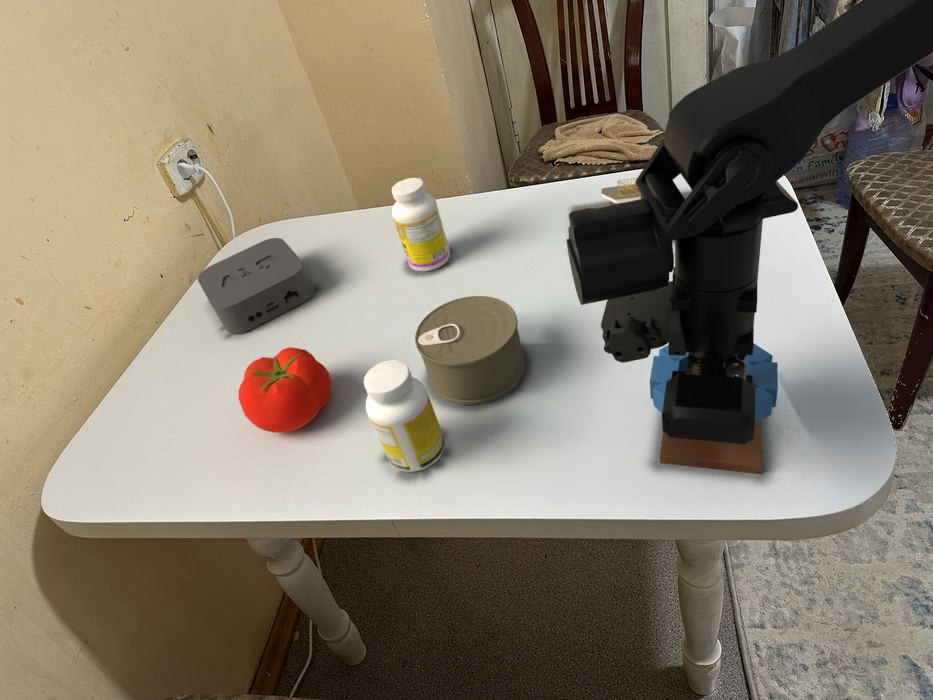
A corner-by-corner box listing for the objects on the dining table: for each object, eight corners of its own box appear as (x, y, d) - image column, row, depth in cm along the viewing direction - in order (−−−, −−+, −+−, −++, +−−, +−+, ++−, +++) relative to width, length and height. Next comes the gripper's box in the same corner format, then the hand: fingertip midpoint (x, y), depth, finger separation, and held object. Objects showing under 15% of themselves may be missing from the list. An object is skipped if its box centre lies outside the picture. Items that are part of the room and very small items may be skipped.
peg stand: (760, 403, 67) (767, 343, 62) (760, 474, 61) (767, 414, 56) (668, 396, 70) (667, 339, 65) (660, 463, 64) (657, 405, 59)
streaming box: (290, 260, 111) (278, 233, 107) (320, 295, 100) (308, 267, 97) (209, 299, 107) (194, 273, 103) (232, 341, 96) (216, 313, 93)
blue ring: (774, 354, 63) (776, 335, 62) (776, 439, 56) (778, 420, 55) (658, 348, 67) (657, 330, 66) (645, 427, 60) (644, 409, 59)
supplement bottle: (412, 251, 104) (389, 177, 96) (453, 245, 103) (433, 170, 95) (405, 276, 99) (380, 200, 91) (448, 270, 98) (426, 193, 90)
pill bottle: (453, 431, 73) (427, 354, 66) (435, 477, 69) (405, 401, 62) (400, 426, 76) (369, 352, 68) (380, 471, 71) (344, 397, 64)
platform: (709, 236, 90) (710, 193, 86) (577, 250, 94) (571, 210, 90) (697, 192, 99) (698, 152, 95) (576, 208, 103) (572, 169, 99)
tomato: (247, 451, 78) (218, 408, 73) (266, 387, 86) (242, 344, 82) (332, 436, 77) (309, 391, 72) (344, 373, 85) (323, 329, 80)
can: (536, 391, 75) (527, 346, 71) (434, 417, 76) (419, 374, 71) (515, 328, 84) (506, 285, 80) (425, 352, 85) (411, 310, 80)
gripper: (622, 206, 57) (631, 340, 67) (582, 349, 45) (601, 488, 55) (762, 201, 53) (750, 345, 63) (761, 358, 41) (747, 507, 51)
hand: (710, 414), depth 58 cm, fingers closed on blue ring, 2 cm apart
